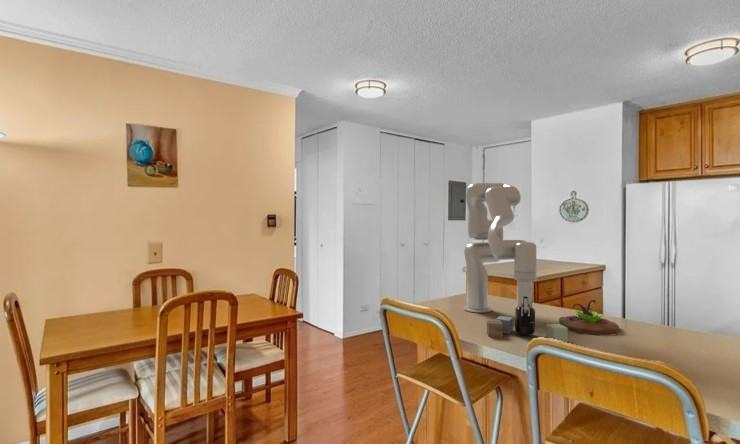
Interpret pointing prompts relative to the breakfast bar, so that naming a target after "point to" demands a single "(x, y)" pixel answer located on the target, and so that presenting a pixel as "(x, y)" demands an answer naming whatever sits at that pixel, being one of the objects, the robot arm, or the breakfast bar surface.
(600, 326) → the plant
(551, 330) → the sage cube
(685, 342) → the breakfast bar surface
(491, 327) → the walnut cube
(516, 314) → the supplement bottle
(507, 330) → the slate cube
